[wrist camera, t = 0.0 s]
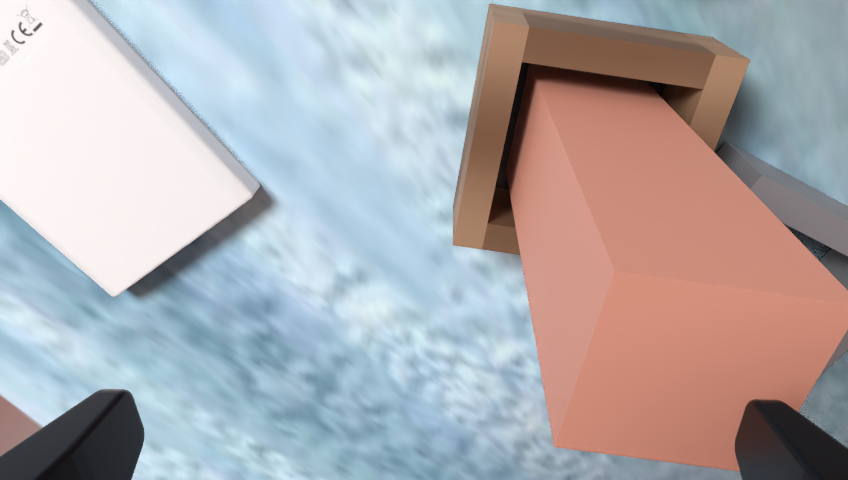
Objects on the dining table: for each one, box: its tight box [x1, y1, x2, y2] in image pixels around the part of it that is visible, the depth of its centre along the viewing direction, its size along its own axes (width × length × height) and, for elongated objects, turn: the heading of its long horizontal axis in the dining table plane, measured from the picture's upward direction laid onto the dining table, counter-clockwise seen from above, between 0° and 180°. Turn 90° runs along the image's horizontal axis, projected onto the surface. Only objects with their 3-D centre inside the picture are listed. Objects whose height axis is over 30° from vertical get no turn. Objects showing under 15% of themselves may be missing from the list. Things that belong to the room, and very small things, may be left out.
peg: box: [506, 64, 848, 471], centre depth 16 cm, size 4×4×13 cm
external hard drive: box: [0, 0, 260, 297], centre depth 22 cm, size 2×8×12 cm
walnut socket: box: [453, 4, 750, 255], centre depth 21 cm, size 7×7×3 cm
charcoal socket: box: [716, 141, 848, 375], centre depth 23 cm, size 7×7×3 cm
